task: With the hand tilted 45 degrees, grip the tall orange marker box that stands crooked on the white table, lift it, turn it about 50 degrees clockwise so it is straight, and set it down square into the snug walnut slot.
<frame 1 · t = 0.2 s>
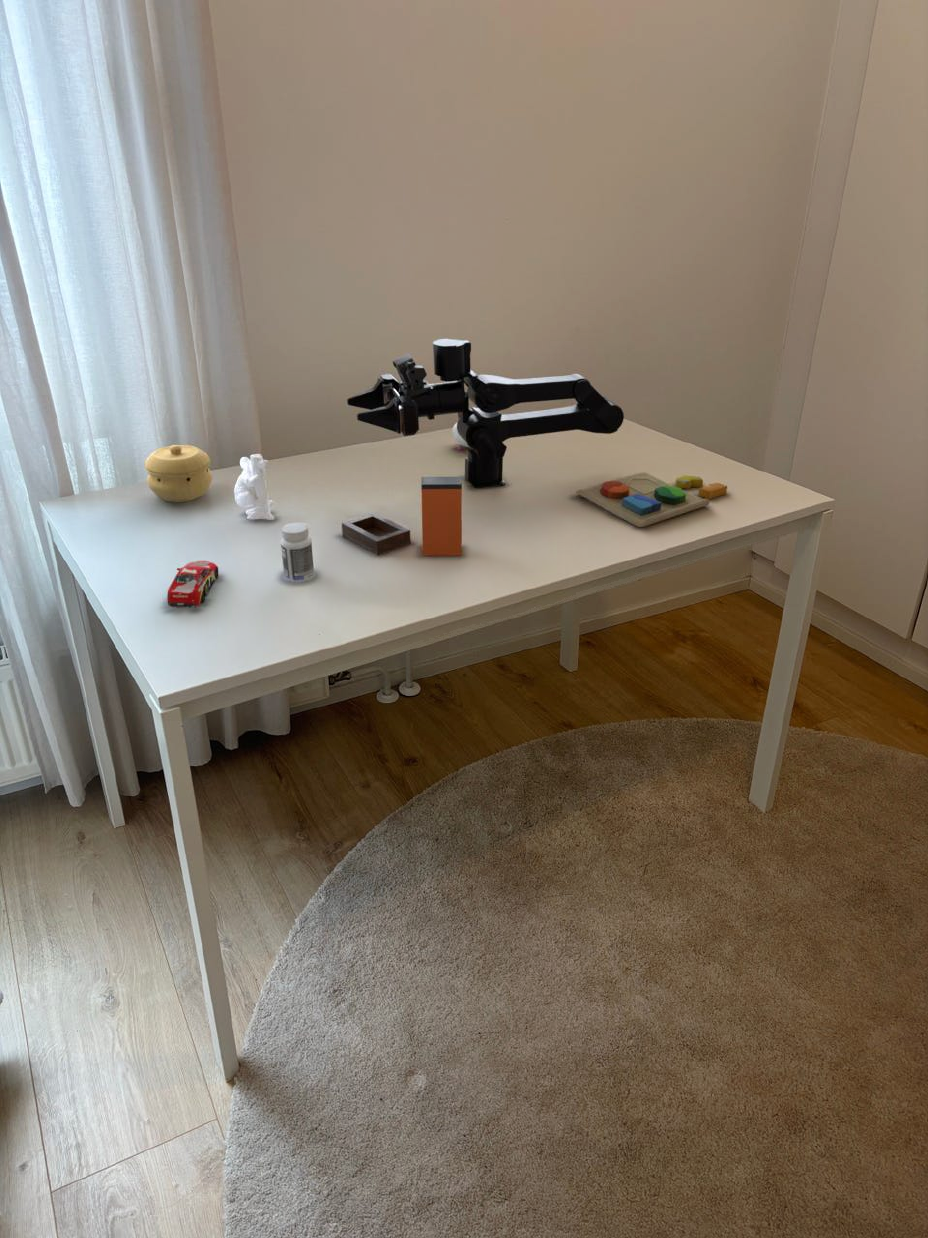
hand: (352, 409, 173), 17 cm above the table, tool horizontal, fingers open, 9 cm apart
shape puzzle: (655, 499, 180), on the table
race car: (194, 592, 146), on the table
stress ball: (470, 446, 205), on the table
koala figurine: (259, 517, 172), on the table
pot: (182, 497, 180), on the table
pill bottle: (299, 577, 151), on the table
marker box: (442, 551, 159), on the table
slot: (376, 539, 163), on the table
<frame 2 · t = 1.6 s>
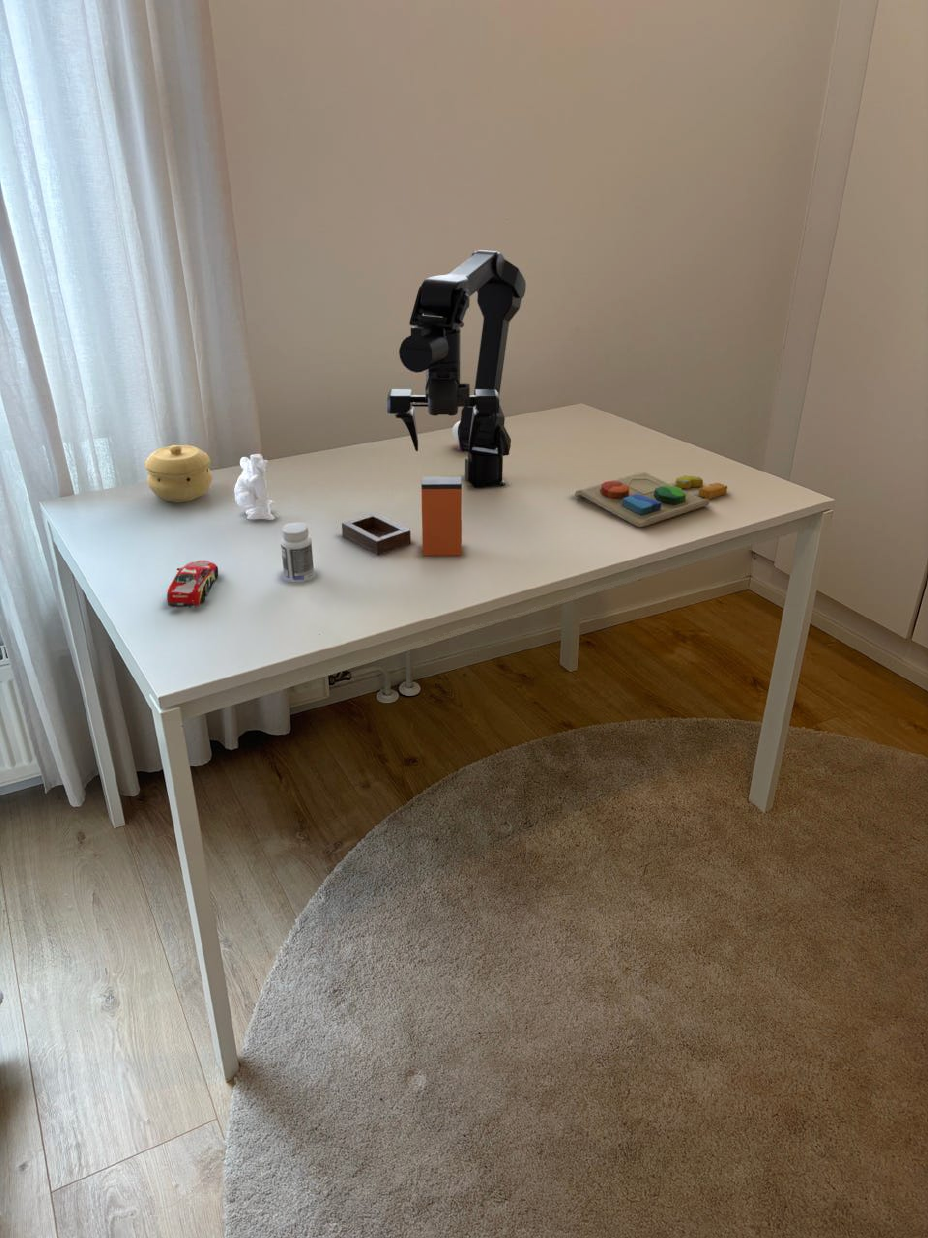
hand: (443, 450, 165), 12 cm above the table, tool pointing down, fingers open, 9 cm apart
nothing on the table moved.
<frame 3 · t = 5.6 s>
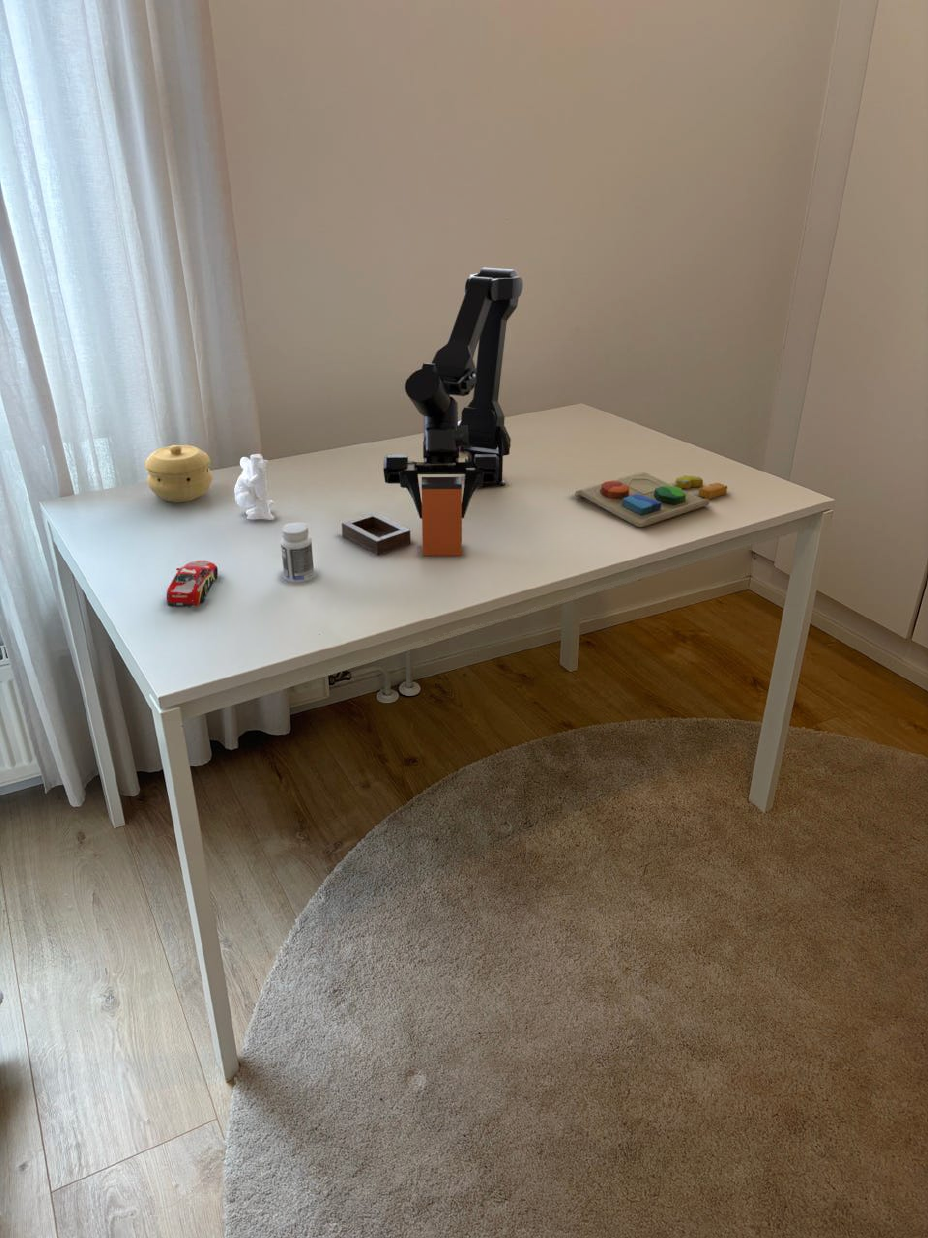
hand: (441, 517, 154), 7 cm above the table, tool tilted 45°, fingers closed on marker box, 6 cm apart
marker box: (442, 551, 159), on the table, touching gripper
everything else where it was.
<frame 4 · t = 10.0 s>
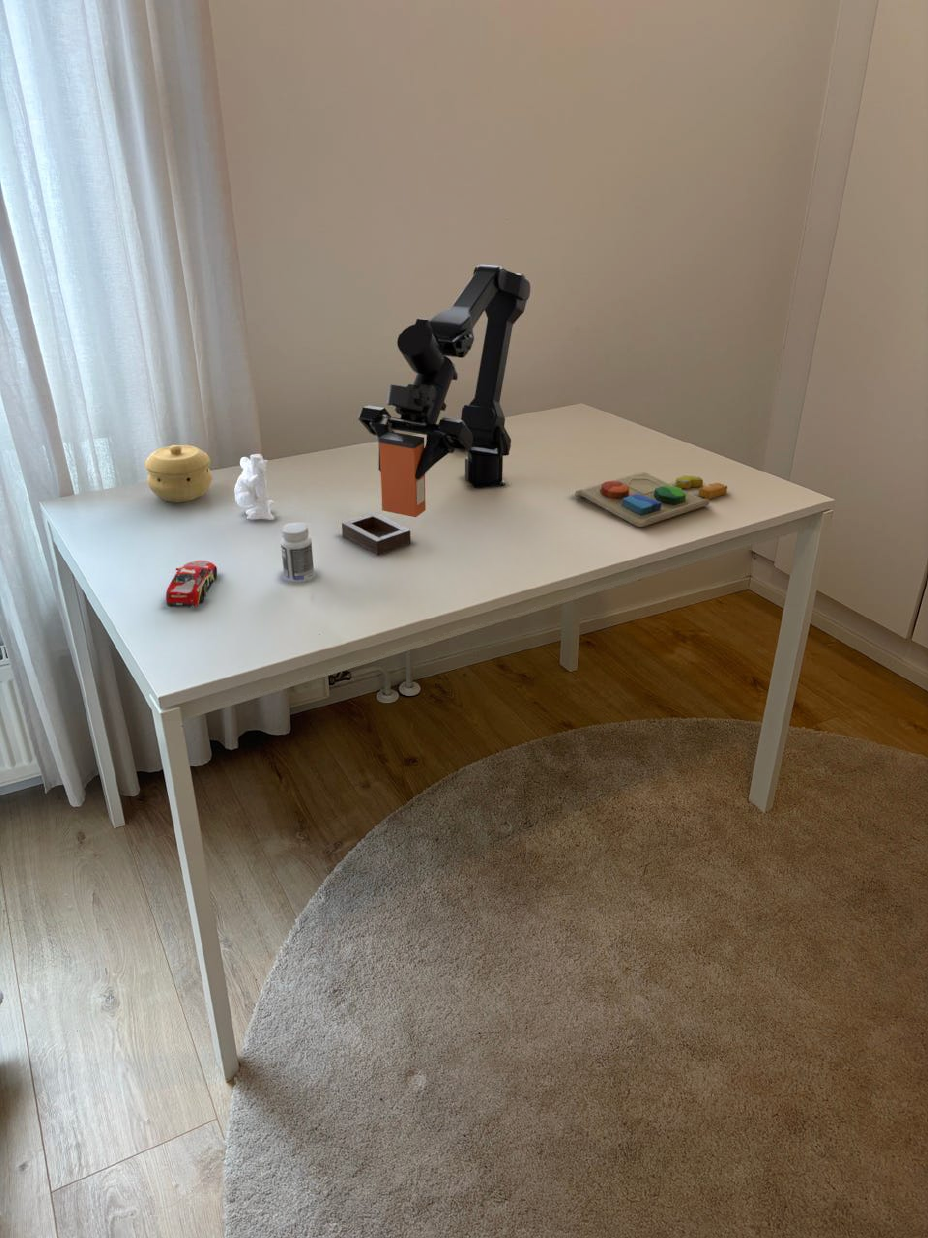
hand: (398, 474, 154), 13 cm above the table, tool tilted 45°, fingers closed on marker box, 6 cm apart
marker box: (403, 510, 158), point 6 cm above the table, touching gripper
everything else where it was.
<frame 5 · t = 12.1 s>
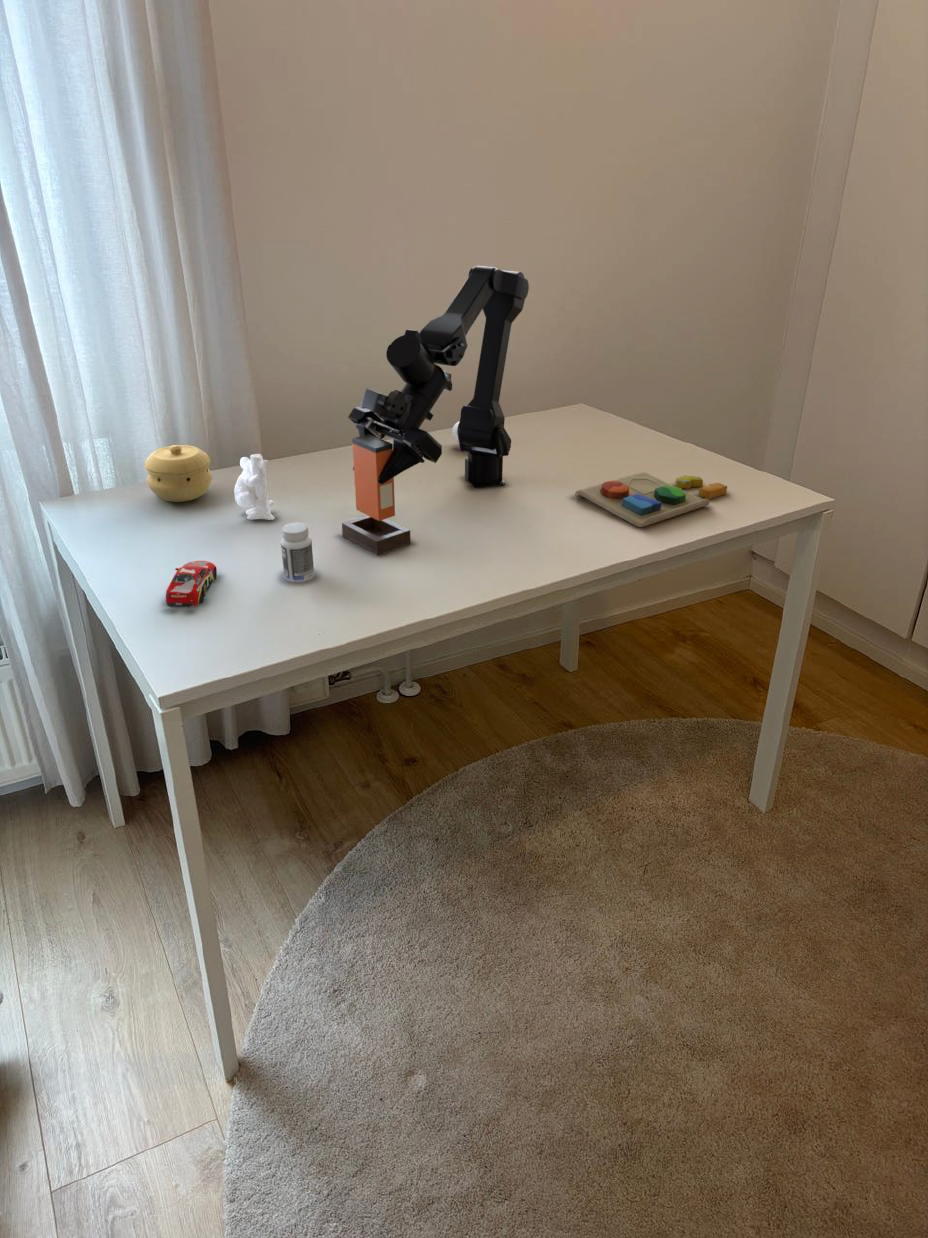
hand: (366, 477, 156), 12 cm above the table, tool tilted 45°, fingers closed on marker box, 6 cm apart
marker box: (375, 512, 160), point 5 cm above the table, touching gripper
everything else where it was.
when the fingers open (7 cm above the table, at t = 14.2 s): marker box stays where it is, resting on slot.
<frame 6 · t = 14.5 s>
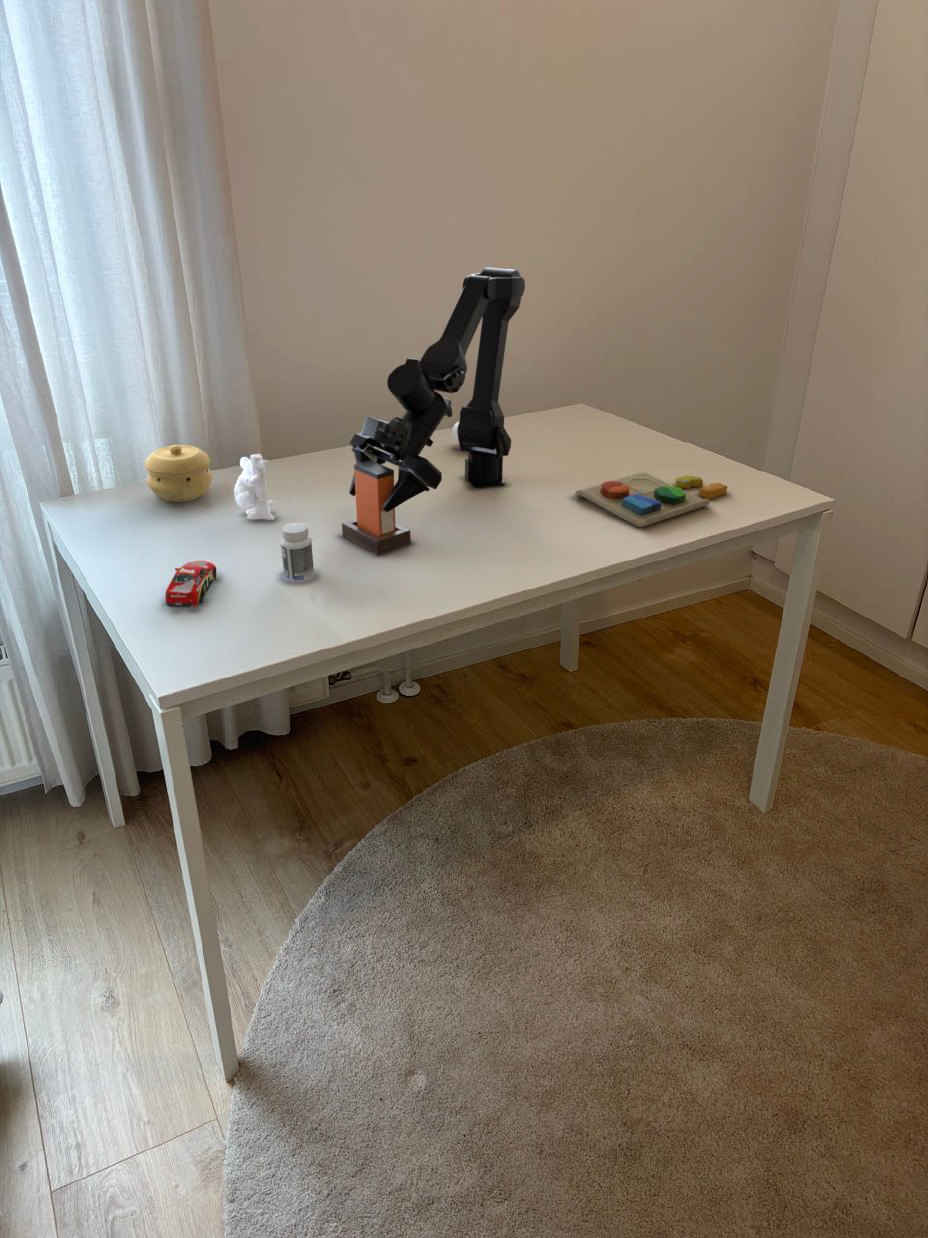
hand: (367, 502, 159), 7 cm above the table, tool tilted 45°, fingers open, 9 cm apart
marker box: (376, 537, 163), point 1 cm above the table, touching slot
everything else where it was.
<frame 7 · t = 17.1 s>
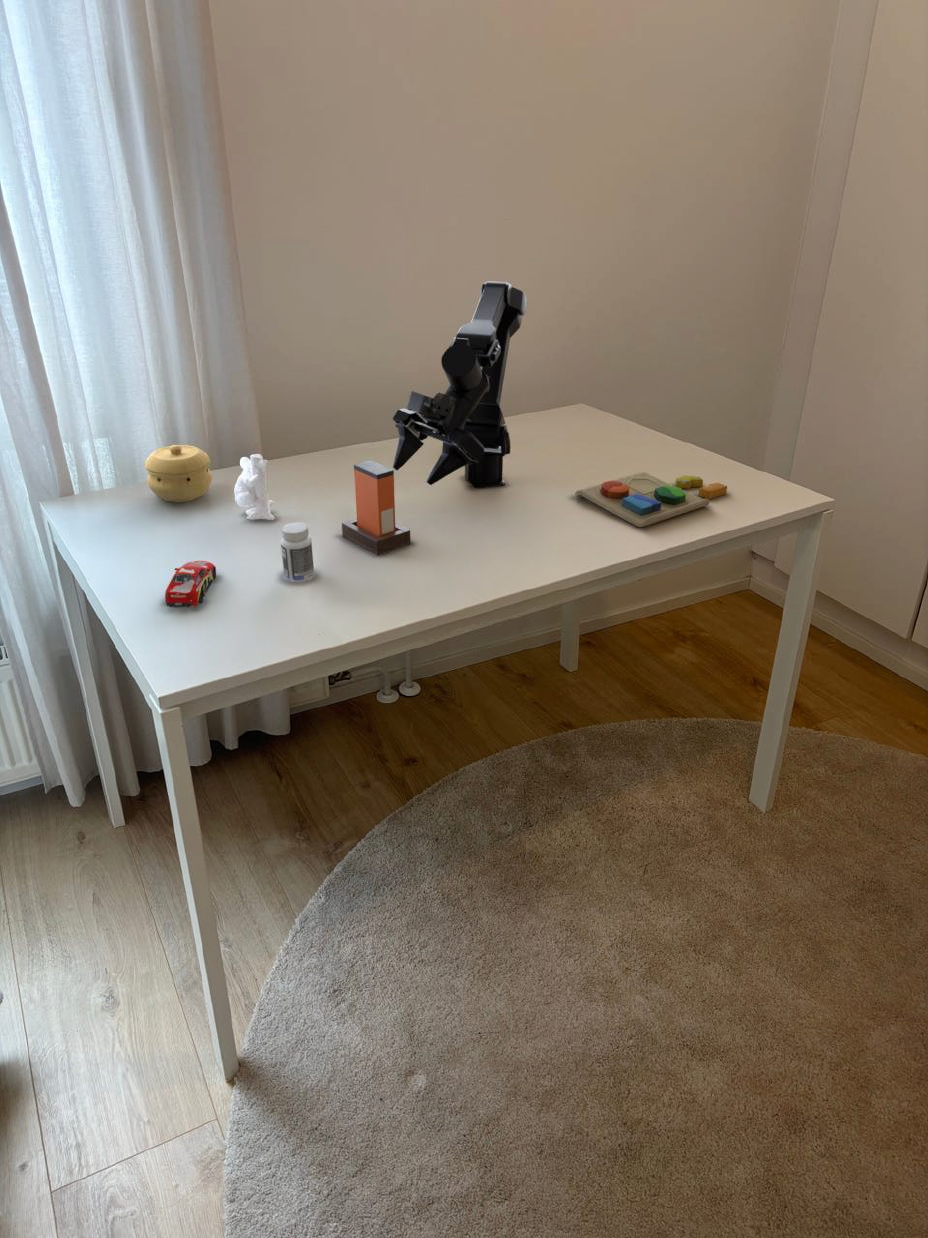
hand: (411, 476, 163), 10 cm above the table, tool tilted 45°, fingers open, 9 cm apart
nothing on the table moved.
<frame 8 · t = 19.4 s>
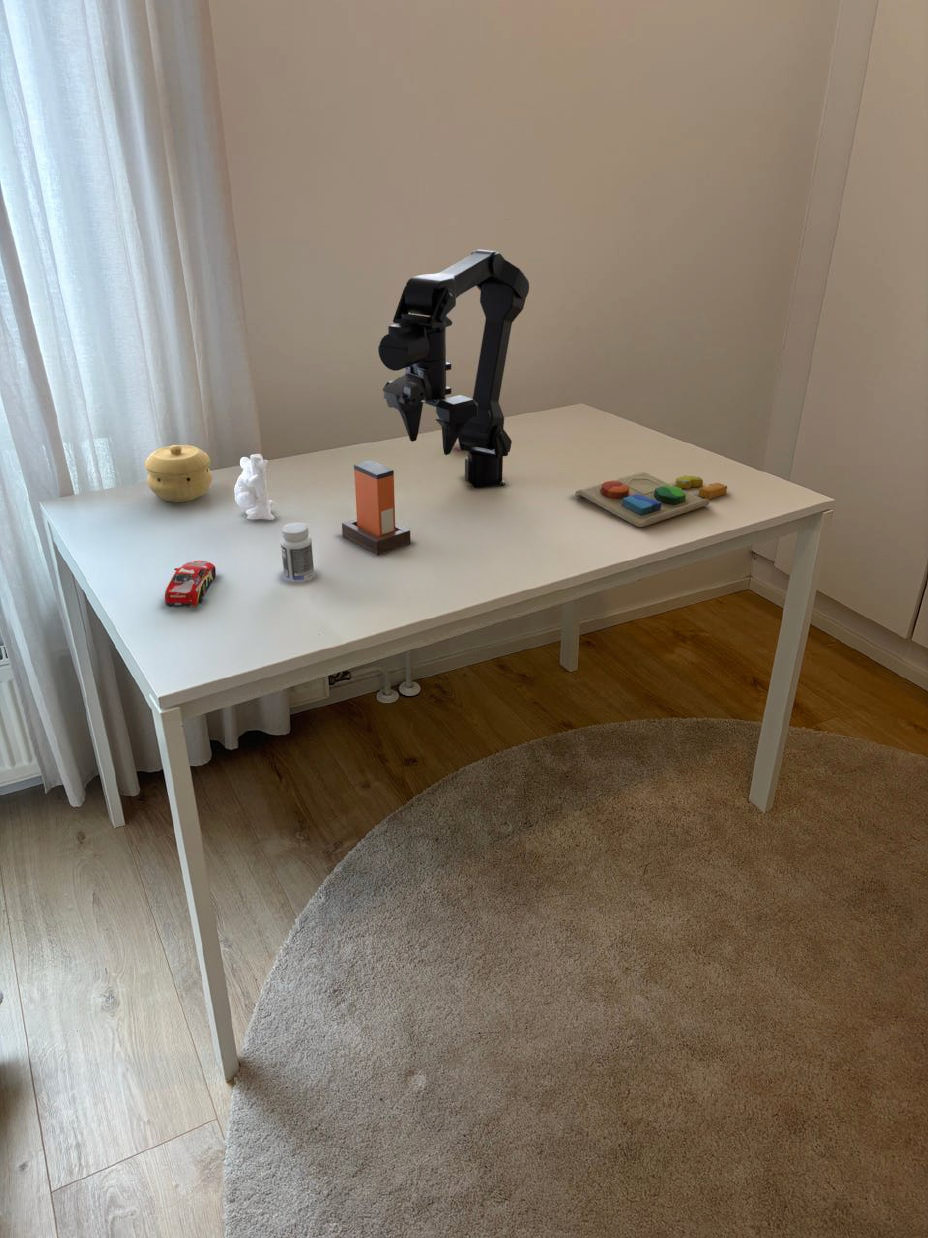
hand: (429, 447, 167), 12 cm above the table, tool pointing down, fingers open, 9 cm apart
nothing on the table moved.
at the end: marker box 0.1 cm off-centre in the slot, point 0.5 cm above the slot's base; marker box tilted 0°; the gripper is holding nothing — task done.
